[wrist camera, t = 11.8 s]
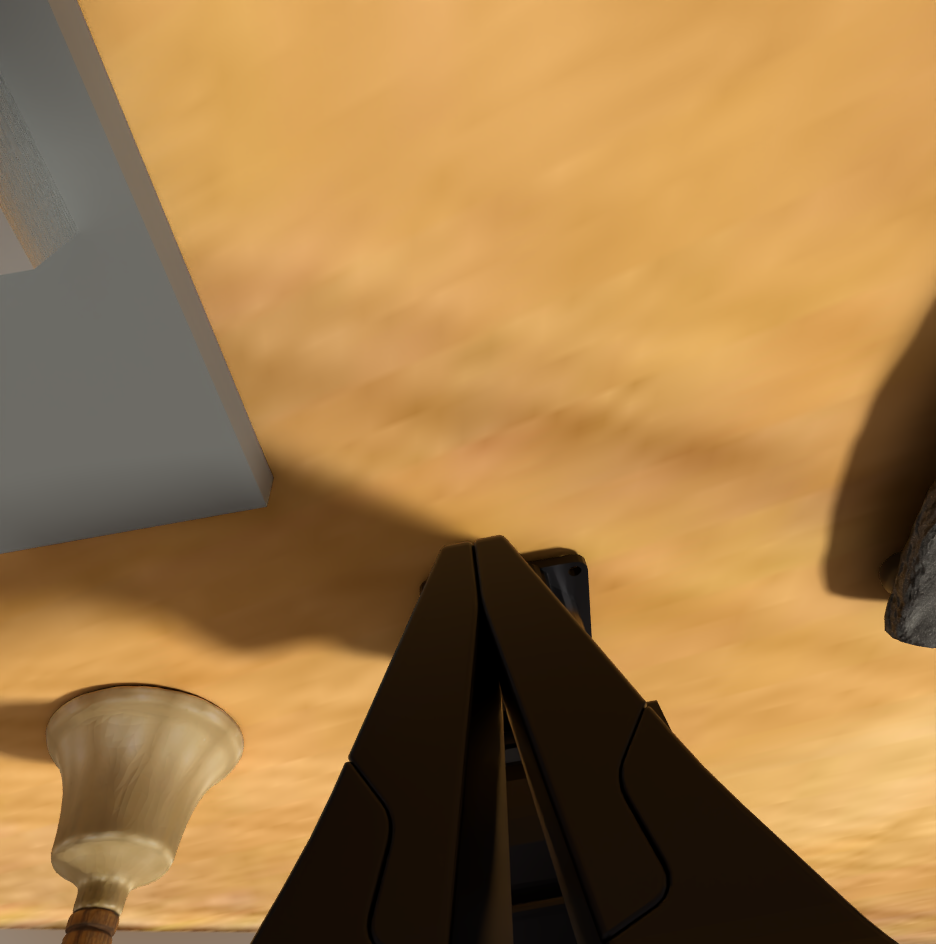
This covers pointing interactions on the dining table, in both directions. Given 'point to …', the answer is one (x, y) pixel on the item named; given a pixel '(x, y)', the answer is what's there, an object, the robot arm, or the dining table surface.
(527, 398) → the dining table surface
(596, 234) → the dining table surface
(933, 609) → the serving board
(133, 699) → the hand bell
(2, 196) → the square hole block
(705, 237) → the dining table surface
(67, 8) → the board
